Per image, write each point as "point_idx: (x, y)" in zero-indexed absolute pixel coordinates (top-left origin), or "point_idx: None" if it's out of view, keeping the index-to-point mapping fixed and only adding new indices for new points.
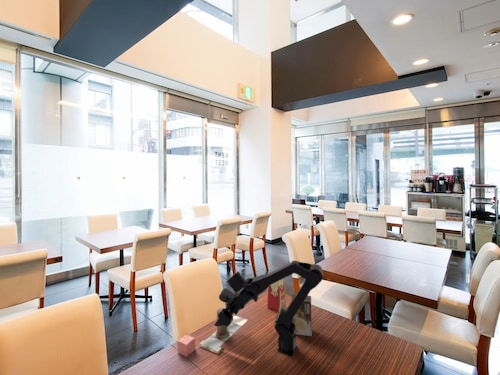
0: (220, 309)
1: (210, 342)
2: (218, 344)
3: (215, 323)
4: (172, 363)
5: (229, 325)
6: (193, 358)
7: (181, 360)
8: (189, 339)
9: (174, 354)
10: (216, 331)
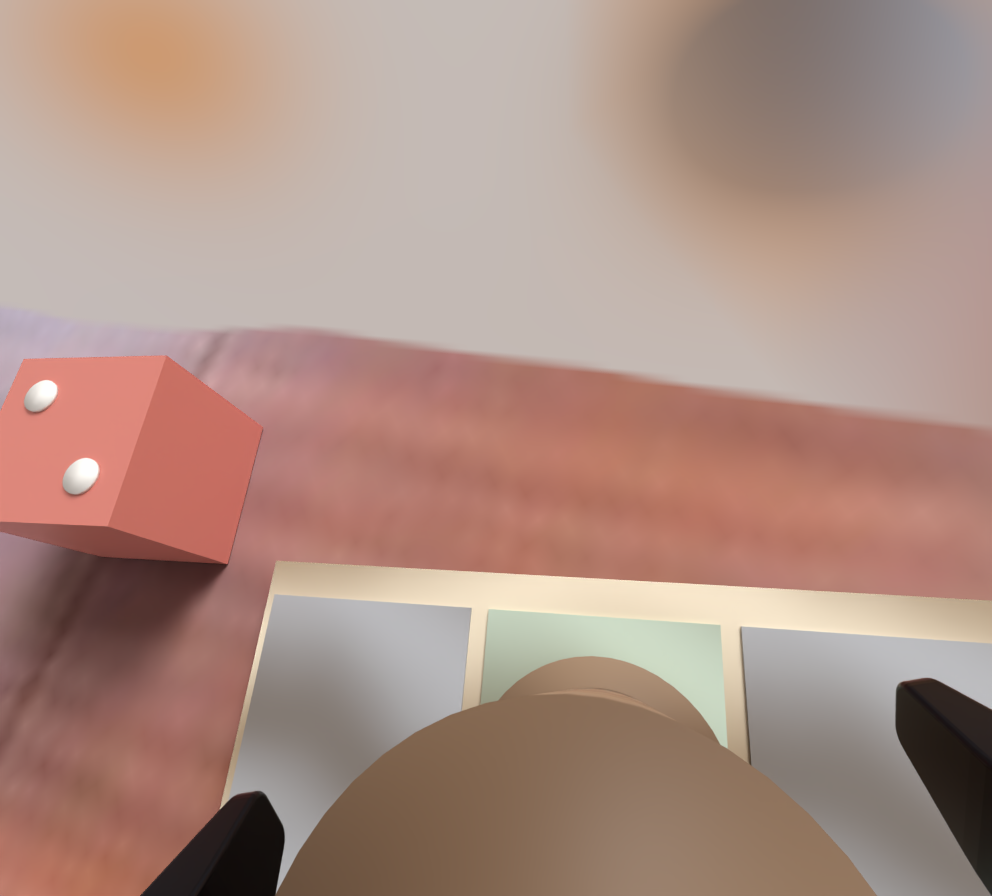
0: (658, 862)
1: (334, 709)
2: None
3: (174, 870)
4: None
5: None
6: (89, 647)
7: (47, 543)
8: (65, 474)
9: None
10: (566, 666)
